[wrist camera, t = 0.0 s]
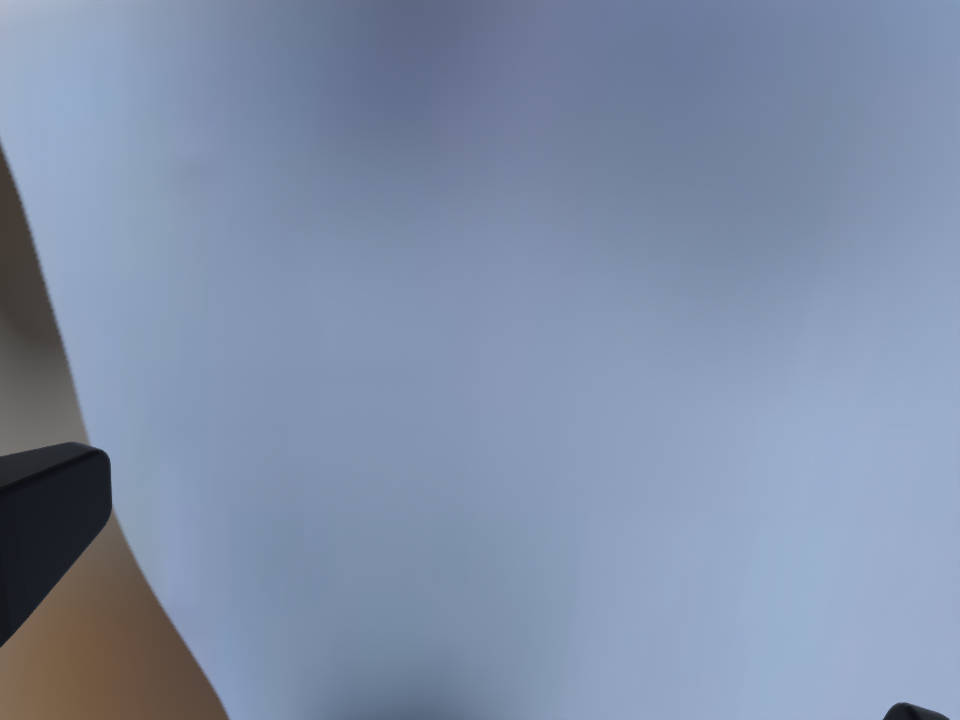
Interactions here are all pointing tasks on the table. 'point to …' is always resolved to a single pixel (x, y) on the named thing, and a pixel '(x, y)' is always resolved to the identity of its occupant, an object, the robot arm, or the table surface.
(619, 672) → the table surface
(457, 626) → the table surface
